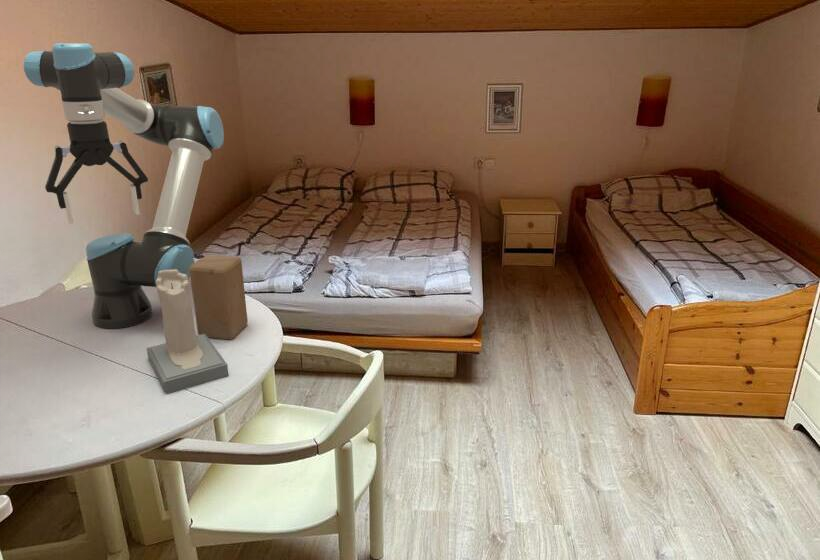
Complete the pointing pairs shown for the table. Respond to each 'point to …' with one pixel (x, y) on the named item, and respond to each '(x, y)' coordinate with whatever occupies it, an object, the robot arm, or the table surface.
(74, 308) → the table surface
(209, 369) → the grey flat block
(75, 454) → the table surface
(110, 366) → the table surface
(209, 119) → the robot arm
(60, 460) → the table surface
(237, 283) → the wooden block
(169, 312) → the candle
